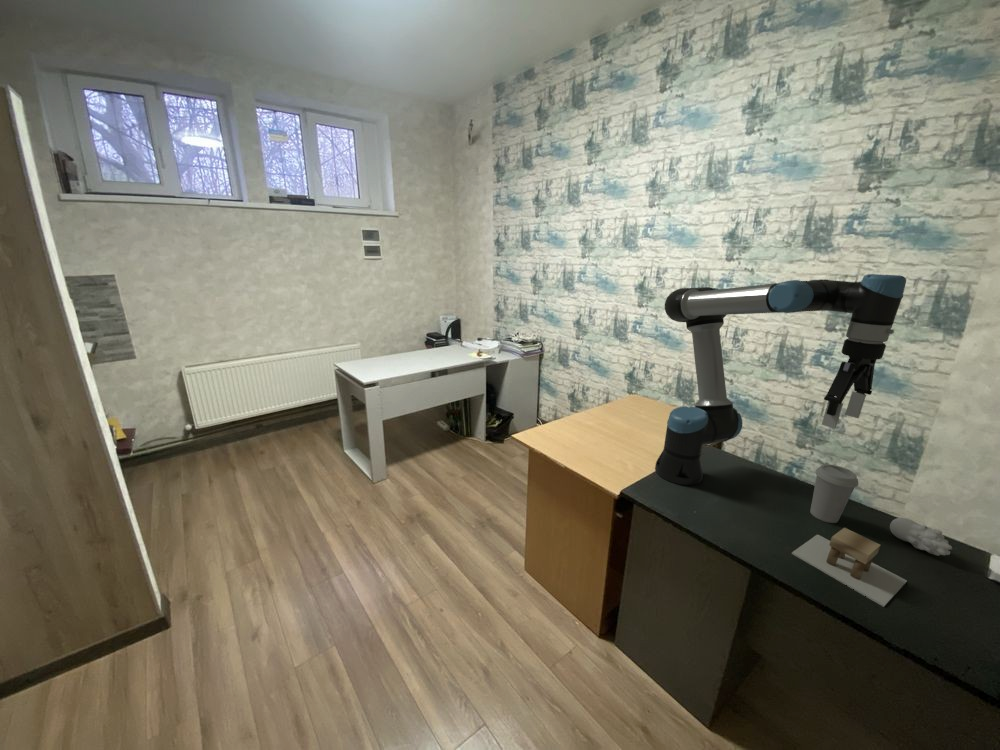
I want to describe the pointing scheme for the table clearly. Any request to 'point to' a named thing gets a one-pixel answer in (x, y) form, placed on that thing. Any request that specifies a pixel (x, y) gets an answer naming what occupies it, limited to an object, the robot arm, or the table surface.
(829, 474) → the coffee cup
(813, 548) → the mat
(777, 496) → the table surface
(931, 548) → the figurine
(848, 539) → the wooden stool
